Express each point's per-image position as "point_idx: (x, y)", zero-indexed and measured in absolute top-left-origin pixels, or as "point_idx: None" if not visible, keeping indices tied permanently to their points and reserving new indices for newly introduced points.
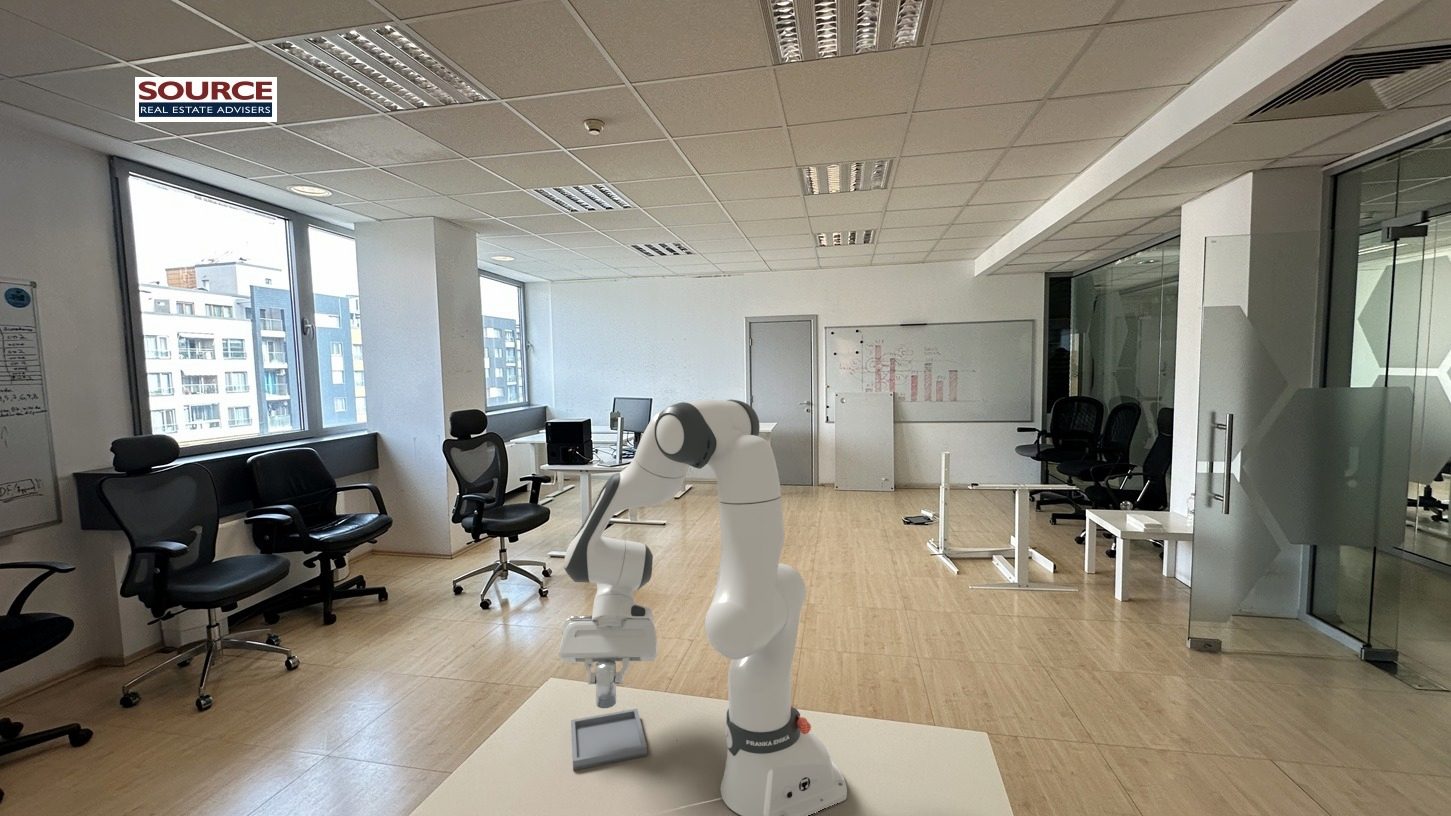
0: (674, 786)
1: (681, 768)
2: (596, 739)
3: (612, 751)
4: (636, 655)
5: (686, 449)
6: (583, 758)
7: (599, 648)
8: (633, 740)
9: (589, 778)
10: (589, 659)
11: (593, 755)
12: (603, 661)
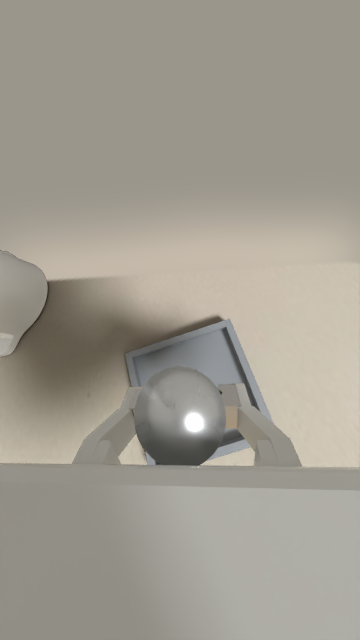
0: (96, 302)
1: (86, 332)
2: None
3: (175, 341)
4: (24, 464)
5: None
6: (215, 325)
7: (231, 526)
8: None
9: (201, 311)
10: (274, 462)
11: (202, 332)
12: (195, 445)
